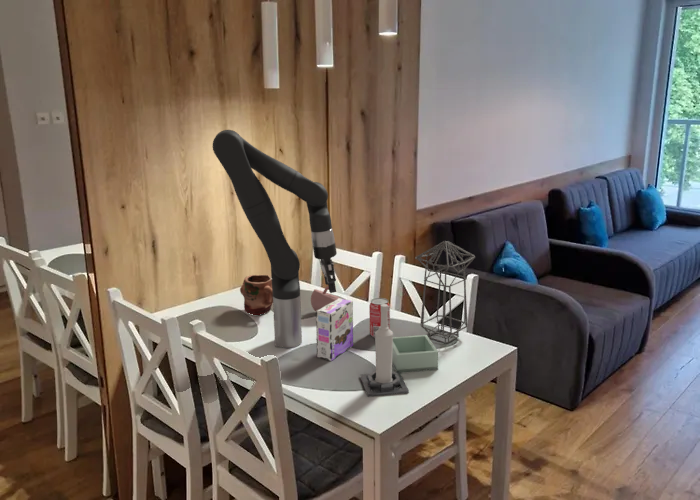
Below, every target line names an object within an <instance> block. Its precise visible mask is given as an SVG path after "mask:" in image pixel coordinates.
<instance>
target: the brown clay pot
mask: <svg viewBox="0 0 700 500" xmlns="http://www.w3.org/2000/svg"><path fill="white" fill-rule="evenodd" d="M239 291H240V295H242V296H243V300H244V301H243V302H244V303H243V307H244V312H245V313H246V312H247V313H250V314H253V315H258V316H261V315H260V314H263V315H265V314H268V313H269V312H270V311H271V308H272V307H273V292H272V278H271V276H269V275H266V274H251V275H250V274H249V275H248V276H247V275H246V276H245V277H244V279H243V282H242V284H241V286H240V289H239ZM267 312H268V313H267ZM247 313H246V314H247ZM264 313H265V314H264Z"/></svg>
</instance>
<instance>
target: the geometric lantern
mask: <svg viewBox="0 0 700 500" xmlns="http://www.w3.org/2000/svg"><path fill="white" fill-rule="evenodd" d="M443 251H444V252H445V256H446V257H445V258H446V264H445V265H443V264H438V260H439V258H440V256H441V255H442V253H443ZM461 252H462V253H461ZM430 256H431V257H430ZM428 257H430V258H429V260H428ZM457 257H458V259H460V261H459V260H457ZM463 257H466V258H465V259H463ZM423 258H425V259H423ZM449 258H450V260H451V262H449ZM414 259H415V260H417V261H418V262H419V263H420V264H421V265H422V266H423V267H424V276H423V277H424V279H423V295H422V303H421V304H422V306H421V314H420V315H421V316H420V327H421V329H424V330H425V332H427V336H428V337H429V339H430V340H434V341H438V342H440V343H444V344H448V343H450V342H452V341H454V340H455V339H457V338H459V337H460V336H459V335H460V331H462V330H464V329H467V328H468V326H469V325H468V309H467V308H468V307H467V305H468V304H467V288H466V287H467V286H466V285H467V274H466V272H465V271H466V268H467V267H468V266H470V264H471V263H472V262H473V261H474V260H475V259H476V256H475V254H473V253H471V252H469V251H467V250H465V249H464V248H462V247H460V246H458V245H456V244H455V243H452V242H451V241H449V240H447V241H446V240H443V241H442V242H440V243H438V244H436V245H434V246H433V247H430V248H429V249H427V250H425V251H424V252H422V253H420V254H418V255H416V256H415V258H414ZM423 262H424V263H423ZM454 262H455V263H456V264H454ZM429 265H430V266H432V268H433V269H430V268H429ZM460 266H461V267H462V269H460ZM435 267H437V268H438V269H437V270H436V269H435ZM441 267H442V268H441ZM456 267H457V268H456ZM450 268H452V269H454V270H455V271H456V273H455V274H454V273H451V272H448V270H449V269H450ZM443 270H444V271H443ZM427 272H428V275H427ZM431 272H432V274H431ZM461 272H462V273H463V274H462V275H459V274H460V273H461ZM442 274H444V282H443V280H442ZM447 274H449V275H451V276H455V277H454V278H453V280H451V283H450V285H447ZM435 275H436V276H437V278H438V279H439V281H438V283H437V282H435V281H434V282H433V281H430V280H428V278H430V277H432V276H435ZM457 277H458V278H459V277H460V278H463V279H462V280H459V281H457V282H455V280H456V278H457ZM462 282H463V289H464V290H463V295H464V296H463V298H464V299H463V320H460V319H457V318H454V317H452V299H451V297H452V294H451V292H452V291H451V290H452V288H451V287H453V286H455V285H457V284H459V283H462ZM427 283H431V284H434V285H437V286H438V290H437V291H438V293H437V305H436V306H437V307H436V315H435V316H433V317H431V318H428V319H427V320H425V303H426V289H427V288H426V287H427ZM441 287H443V291H442V292H443V293H442V295H443V296H442V297H443V298H442V315H441V314H439V309H440V296H441V295H440V294H441ZM447 288H448V300H449V301H448V303H449V305H448V306H449V308H448V309H449V316H448V315H446V308H447V307H446V304H447ZM438 317H440V318H442V320H441V324H440V321H439V318H438ZM445 318H447V319H449V326H447V325H445ZM433 319H436V320H437V325H436V326H434V327H433V328H428V327H425V326H424V324H425V323H428V322H429V321H433ZM424 320H425V321H424ZM452 321H456V322H459V323H462V324H461V325H460V326H459V327H458V328H454V327H452V326H453V325H452ZM445 328H448V329H449V331H447V330H445ZM435 329H437V330H436V331H435ZM440 330H442V331H440ZM452 330H455V331H452ZM444 331H445V332H444ZM440 332H442V333H440ZM432 336H436V337H439V338H443V339H444V340H440V339H437V338H434V337H432ZM446 336H447V337H446ZM452 336H456V337H454V338H453V339H450V338H451V337H452Z"/></svg>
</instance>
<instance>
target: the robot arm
mask: <svg viewBox="0 0 700 500" xmlns="http://www.w3.org/2000/svg"><path fill="white" fill-rule="evenodd" d="M212 151H213V153H214V156H216V158H217V159H218V161H219V163H220V165H222V168H223V169H224V170H225V172H226V174H227V176H228V177H229V179H230V182H231V183H232V184H231V185H232V187H233V189H234V190H233V191H234V192H235V195H236V197H237V200H238V201H239V204H240V206H241V209H242V211H243V212H244V215H245V217H246V219H247V221H248V222H249V223H250V226H251V227H252V229H253V231H254V233H255V234H256V236H257V238H258V239H259V240H260V242H261V244H262V246H263V247H264V250H265V252H266V255H267V258H268V259H269V263H270V278H271V280H272V292H273V303H272V307H273V328H274V331H273V332H274V333H273V334H274V335H273V336H274V344H275V345H274V346H275V347H277V348H278V347H280V348H288V349H289V348H294V347H297V346H300V345H301V344H302V343H303V335H302V333H303V331H302V310H301V309H302V307H301V286H300V275H299V274H300V272H299V271H300V268H301V267H300V266H301V264H300V263H301V262H300V259H299V257H298V254H297V252H296V251H295V250H294V249H293V248H292V247H291V246H290V245H289V243H288V241H287V239H286V237H285V235H284V232H283V229H282V226H281V222H280V220H279V216H278V213H277V212H276V209H275V207H274V206H275V205H274V204H273V202H272V200H271V198H270V196H269V194H268V192H267V191H266V189H265V187H264V185H263V183H261V181H260V180H259V178H258V177H257V175H256V174H255V173H254V171H255V172H256V173H259V174H260V175H261V176H262V177H264V178H266V179H267V180H268V181H269V182H271V183H273V185H274V184H275V185H276V186H278V187H280V188H282V189H283V190H286V192H289V193H292V194H293V195H295V196H296V197H298V198H299V199H301V200H302V201H304V203H306V207H307V212H308V218H309V220H308V221H309V226H310V232H311V233H310V234H311V242H312V244H311V245H312V250H313V255H314V258H315V259H317V260H320V262H319V263H320V267H321V271H322V274H323V277H324V278H323V279H324V284H325V285H326V286H329V289H328V292H329V294H332V293H333V294H334V293H336V292H337V288H336V287H337V286H336V282H337V279H336V272H335V268H334V266H335V263H334V261H333V259H332V258H334V257H335V256H336V255H337V245H336V238H335V233H334V231H333V226H332V224H333V223H332V219H331V215H330V211H329V209H328V208H329V207H328V199H329V194H328V193H329V192H328V191H327V189H326V187H325V186H324V185H323V184H322V183H320V182H319V181H313V180H311V179H309V178H307V177H306V176H304V175H303V174H302V173H300V172H299V171H298V170H296V169H294V168H293V167H291V166H289V165H287V164H285V163H283V162H281V161H279V160H277V159H276V158H274V157H272V156H270V155H268V154H266V153H265V152H262V151H261V150H260V149H258V148H256V147H255V146H254V145H253V144H251V143H250V142H248V140H246V139H245V138H243V137H242V136H241V135H240V134H239V133H238V132H236V131H235V130H231V129H224V130H221V131H220V132H218V133H217V134H216V135H215V137H214V138H213V141H212ZM253 170H254V171H253Z"/></svg>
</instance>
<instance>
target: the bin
mask: <svg viewBox="0 0 700 500" xmlns="http://www.w3.org/2000/svg"><path fill="white" fill-rule="evenodd" d="M392 367H393V368H394V370H395V372H396V371H399V372H400V374H402V373H412V372H424V371H437V370H439V350H438V349H437V347H436V346H435V344H434V343H433V342H432V339H431V338H429V337H428V334H420V335H409V336H408V335H406V336H405V335H404V336H393V350H392Z"/></svg>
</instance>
